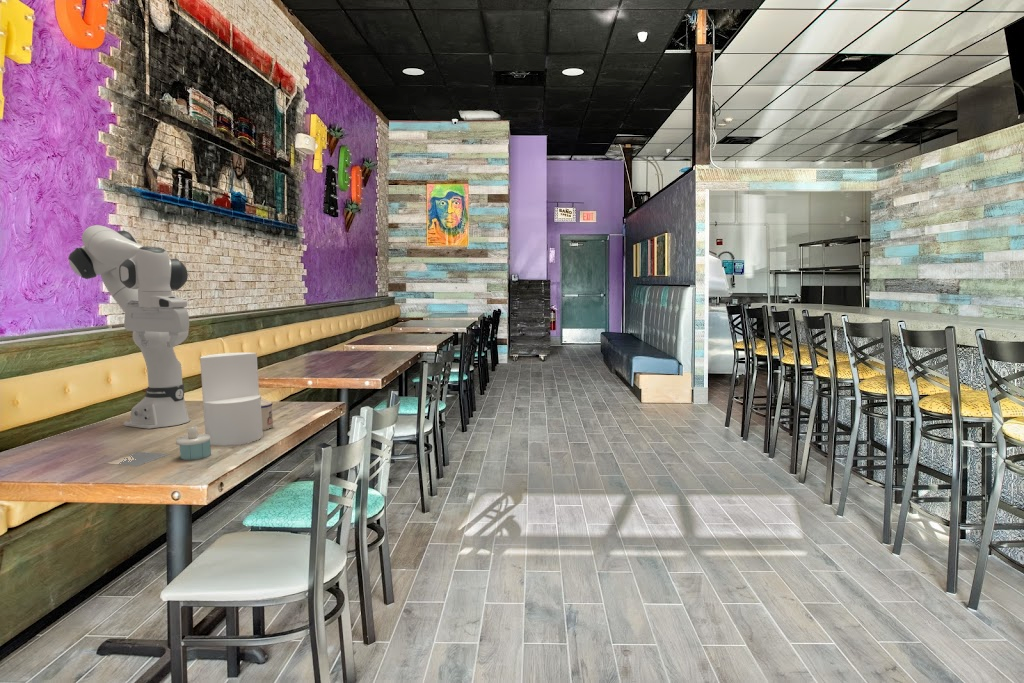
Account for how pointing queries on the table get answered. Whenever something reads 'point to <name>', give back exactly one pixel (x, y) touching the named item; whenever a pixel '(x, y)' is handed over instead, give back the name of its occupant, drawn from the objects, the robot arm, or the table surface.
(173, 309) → the robot arm
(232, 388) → the cylinder
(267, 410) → the teacup with lid
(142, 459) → the mat
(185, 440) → the lid
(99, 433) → the table surface
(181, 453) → the cup
